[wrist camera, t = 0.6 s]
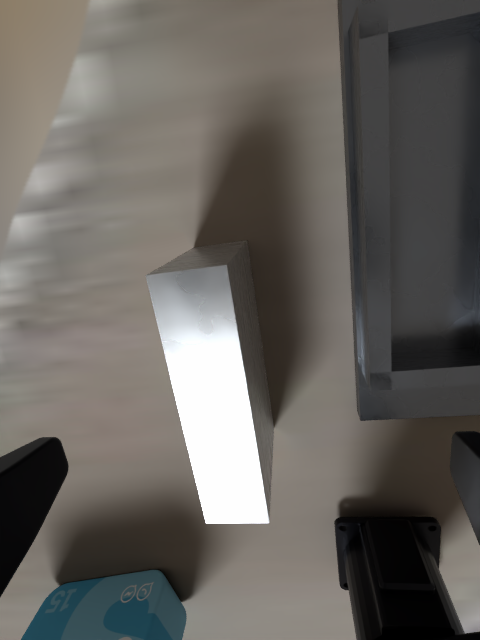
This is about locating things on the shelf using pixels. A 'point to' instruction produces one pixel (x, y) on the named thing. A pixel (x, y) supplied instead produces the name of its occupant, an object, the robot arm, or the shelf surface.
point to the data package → (111, 610)
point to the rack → (413, 203)
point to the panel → (218, 377)
